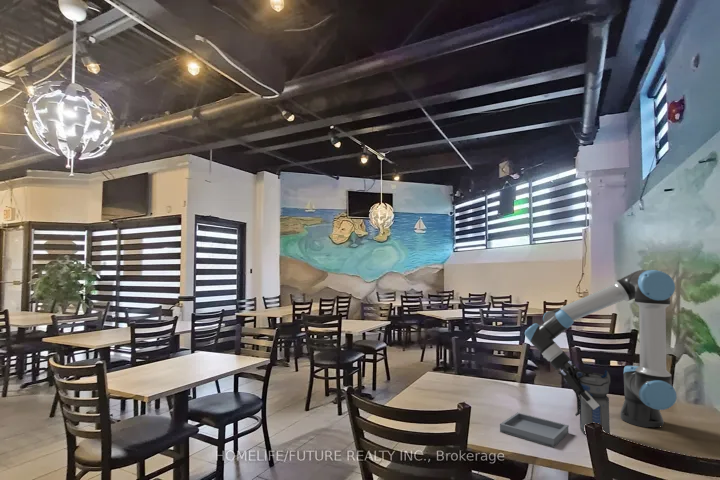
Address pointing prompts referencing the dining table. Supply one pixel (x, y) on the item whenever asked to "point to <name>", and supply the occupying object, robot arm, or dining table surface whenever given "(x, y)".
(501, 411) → the dining table surface
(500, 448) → the dining table surface
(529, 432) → the tray
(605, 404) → the beverage bottle
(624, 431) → the dining table surface
